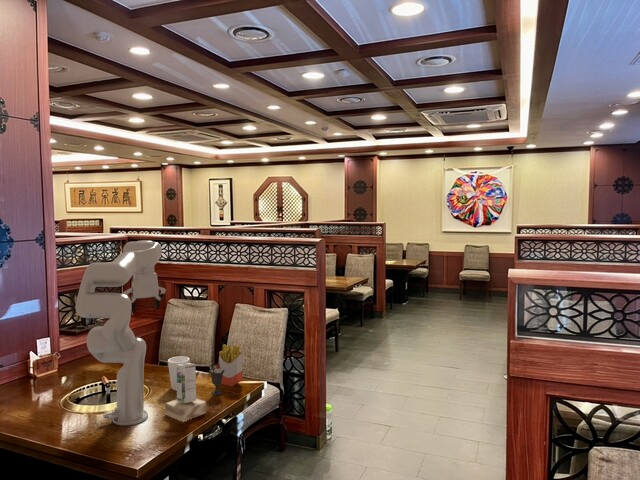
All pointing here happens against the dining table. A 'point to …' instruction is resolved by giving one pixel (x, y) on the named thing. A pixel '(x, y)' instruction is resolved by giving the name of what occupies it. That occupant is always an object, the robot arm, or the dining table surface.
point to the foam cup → (172, 369)
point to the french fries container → (231, 364)
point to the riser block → (185, 409)
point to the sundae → (217, 377)
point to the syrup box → (186, 382)
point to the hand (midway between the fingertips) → (145, 310)
